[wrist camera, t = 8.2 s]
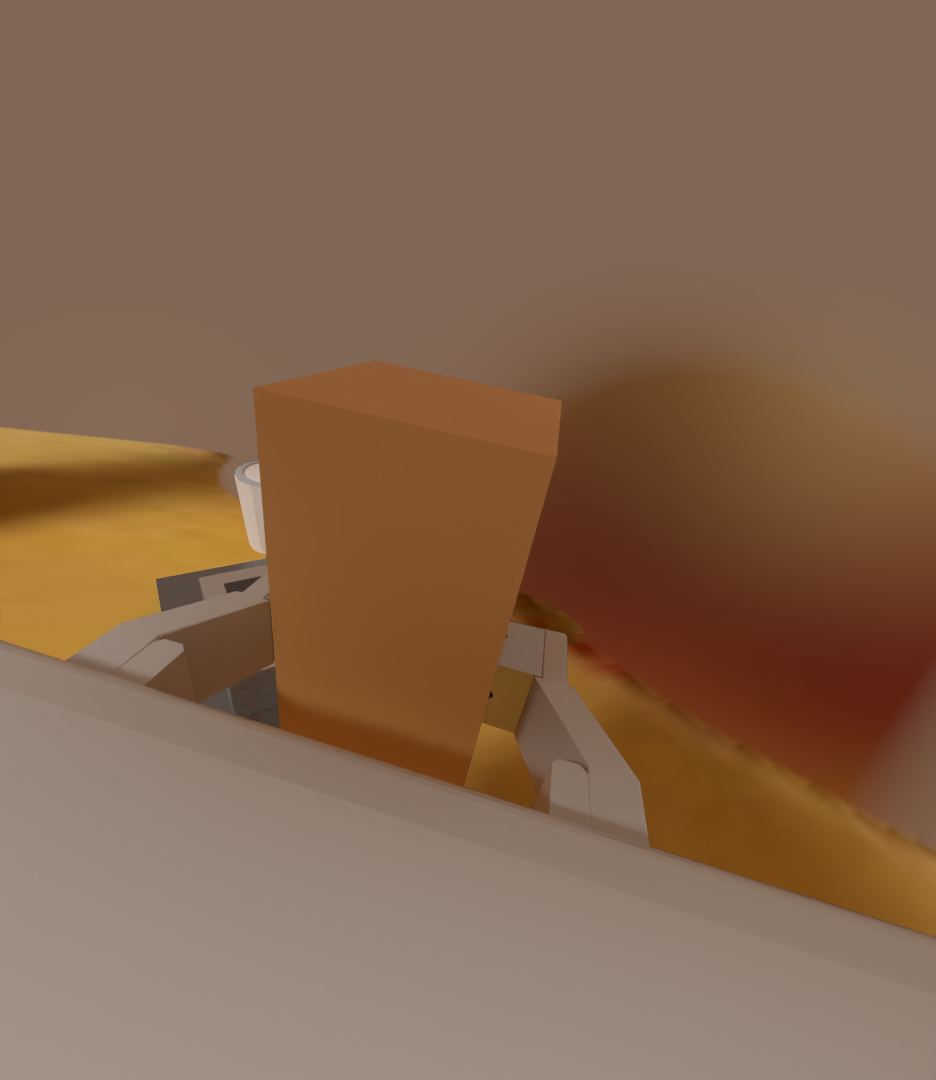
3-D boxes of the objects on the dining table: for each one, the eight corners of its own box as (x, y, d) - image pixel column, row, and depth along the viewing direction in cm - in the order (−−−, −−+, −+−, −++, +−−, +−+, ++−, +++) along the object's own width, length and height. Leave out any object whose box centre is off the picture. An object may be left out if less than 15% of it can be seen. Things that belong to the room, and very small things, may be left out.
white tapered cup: (245, 564, 36) (236, 489, 33) (238, 526, 41) (231, 457, 38) (327, 554, 40) (327, 485, 36) (312, 520, 45) (311, 456, 41)
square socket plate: (159, 595, 31) (147, 543, 29) (342, 558, 39) (343, 515, 37) (205, 860, 18) (189, 801, 16) (466, 722, 26) (479, 671, 24)
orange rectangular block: (289, 848, 11) (252, 388, 5) (354, 724, 15) (375, 361, 9) (432, 898, 11) (557, 456, 5) (465, 758, 14) (561, 400, 9)
